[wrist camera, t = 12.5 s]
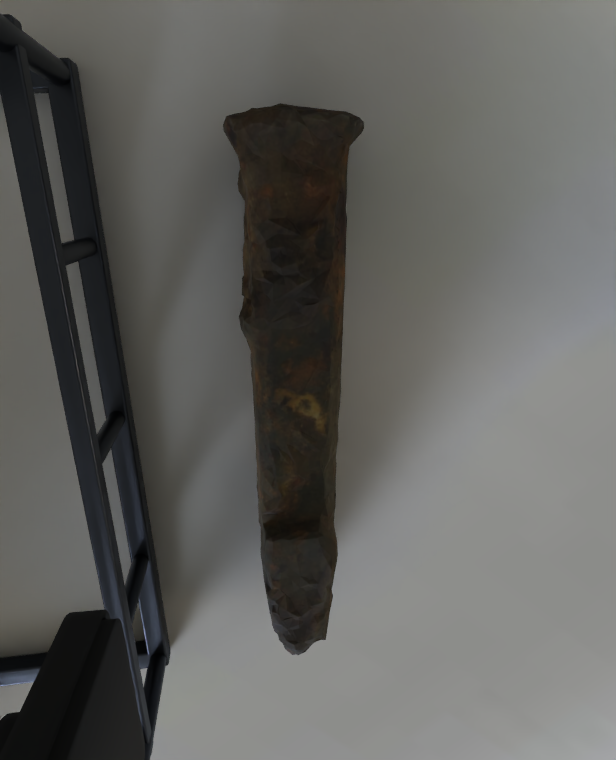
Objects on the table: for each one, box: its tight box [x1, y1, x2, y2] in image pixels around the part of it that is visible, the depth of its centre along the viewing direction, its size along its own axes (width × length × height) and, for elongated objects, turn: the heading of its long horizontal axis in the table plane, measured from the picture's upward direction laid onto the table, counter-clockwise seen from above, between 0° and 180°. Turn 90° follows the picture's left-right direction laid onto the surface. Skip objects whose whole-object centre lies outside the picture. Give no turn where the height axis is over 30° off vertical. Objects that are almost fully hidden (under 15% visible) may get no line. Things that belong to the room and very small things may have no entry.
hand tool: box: [223, 103, 364, 655], centre depth 19 cm, size 19×4×5 cm, turn 177°
